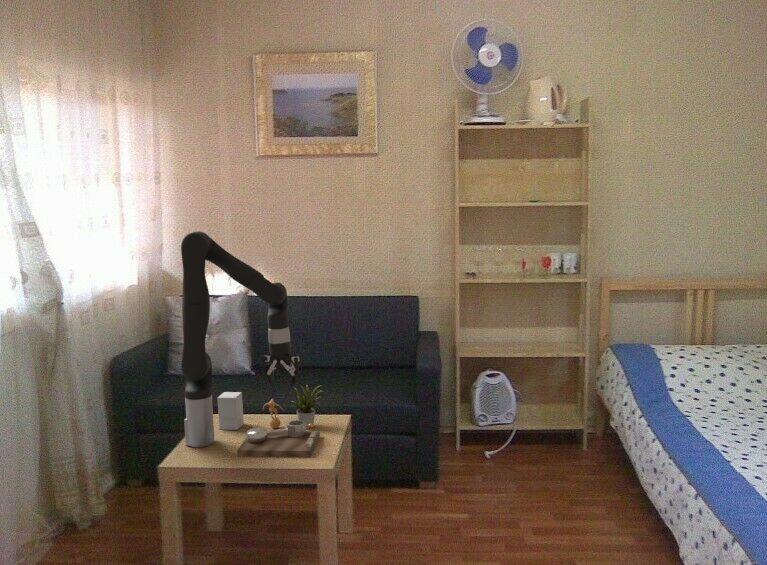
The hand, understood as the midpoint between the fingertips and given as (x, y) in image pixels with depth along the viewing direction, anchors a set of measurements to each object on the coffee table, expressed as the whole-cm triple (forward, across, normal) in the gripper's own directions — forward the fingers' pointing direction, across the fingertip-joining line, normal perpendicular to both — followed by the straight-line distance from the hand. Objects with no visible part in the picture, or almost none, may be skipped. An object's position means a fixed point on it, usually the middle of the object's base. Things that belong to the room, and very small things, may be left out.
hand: (283, 384), depth 251 cm
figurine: (+21, -10, +9) cm, 25 cm away
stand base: (+20, 0, -6) cm, 21 cm away
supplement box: (+20, -27, +7) cm, 35 cm away
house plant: (+21, +1, +16) cm, 26 cm away
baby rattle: (+18, -2, -2) cm, 18 cm away
